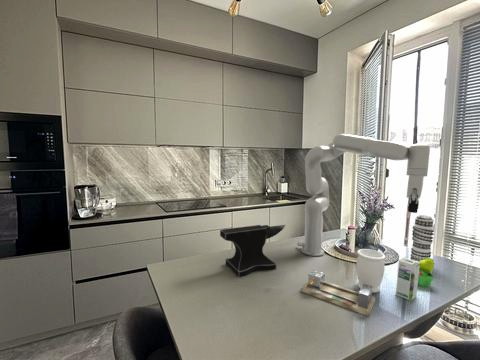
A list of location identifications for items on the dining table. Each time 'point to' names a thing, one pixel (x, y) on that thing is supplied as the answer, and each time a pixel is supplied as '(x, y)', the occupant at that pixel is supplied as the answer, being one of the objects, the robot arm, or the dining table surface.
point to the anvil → (250, 248)
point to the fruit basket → (425, 272)
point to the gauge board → (339, 300)
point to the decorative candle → (422, 238)
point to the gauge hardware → (364, 294)
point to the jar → (370, 268)
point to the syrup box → (407, 278)
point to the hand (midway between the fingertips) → (413, 210)
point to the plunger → (316, 279)
